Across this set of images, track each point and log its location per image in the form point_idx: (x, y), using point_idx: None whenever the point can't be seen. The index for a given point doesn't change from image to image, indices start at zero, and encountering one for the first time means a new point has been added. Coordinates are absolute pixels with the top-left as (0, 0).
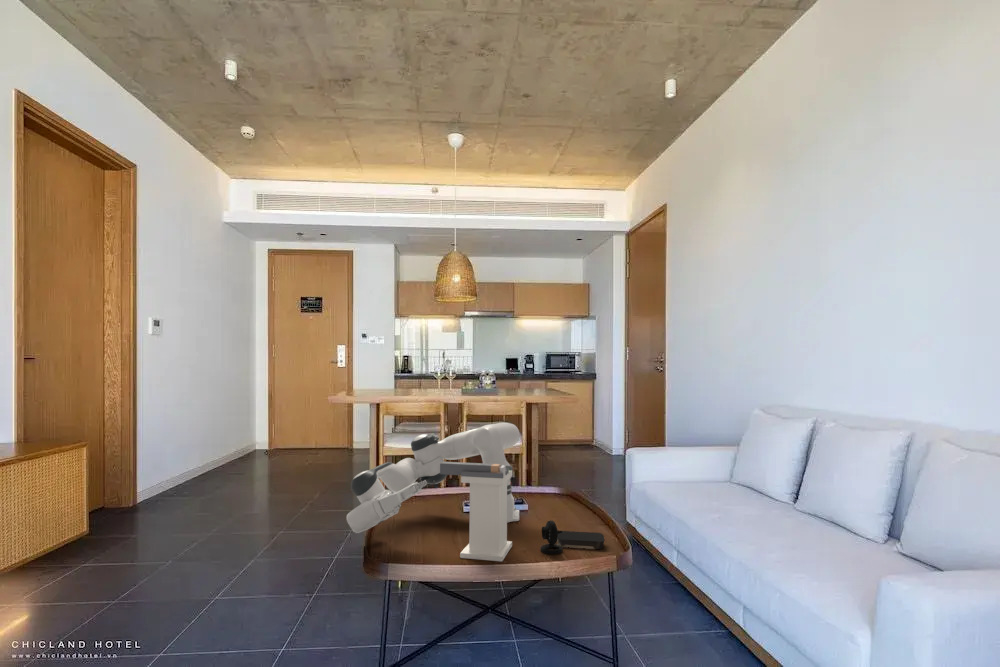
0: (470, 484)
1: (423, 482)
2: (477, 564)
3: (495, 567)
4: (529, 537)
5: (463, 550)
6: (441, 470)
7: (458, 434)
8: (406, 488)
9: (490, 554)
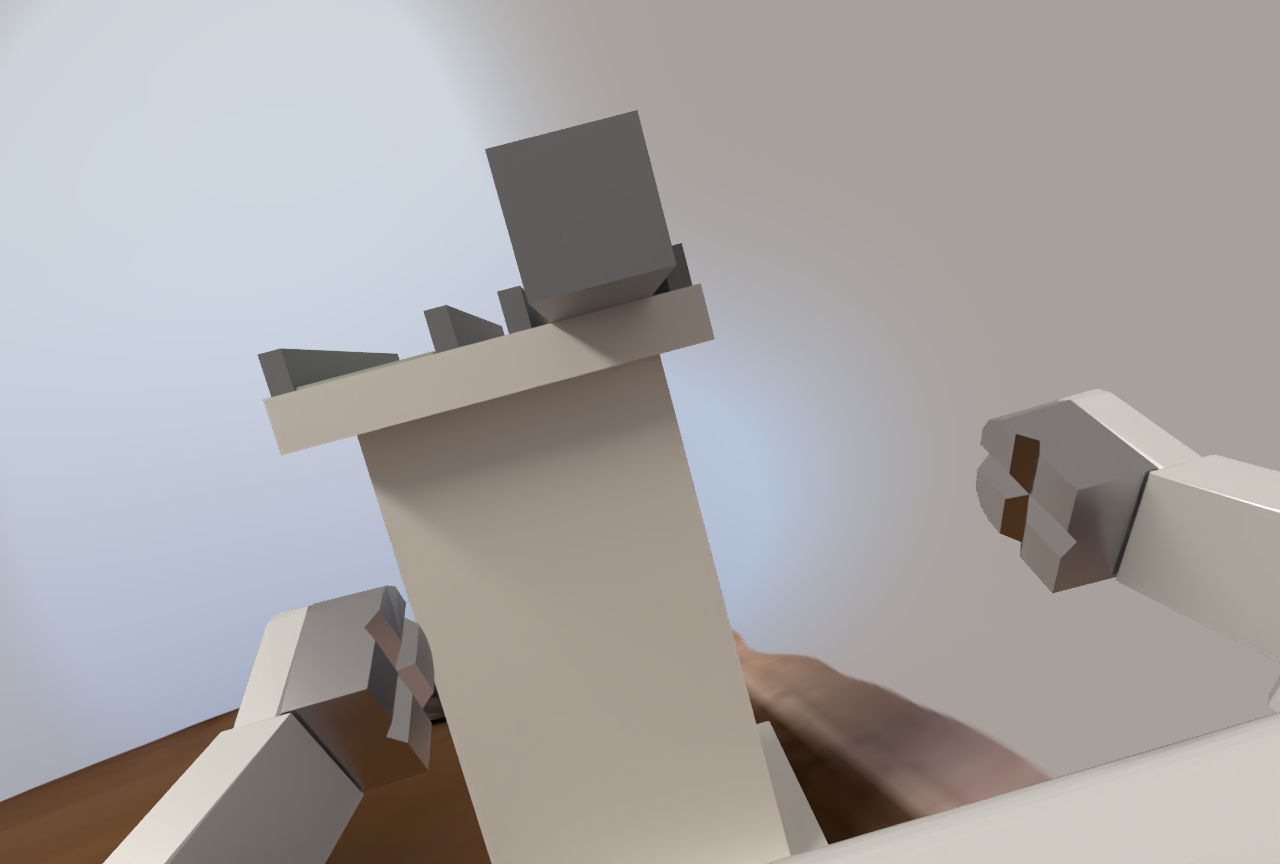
0: (663, 374)
1: (399, 623)
2: (894, 797)
3: (868, 727)
4: (360, 823)
5: None
6: (660, 216)
7: None
8: (981, 803)
9: (768, 766)
